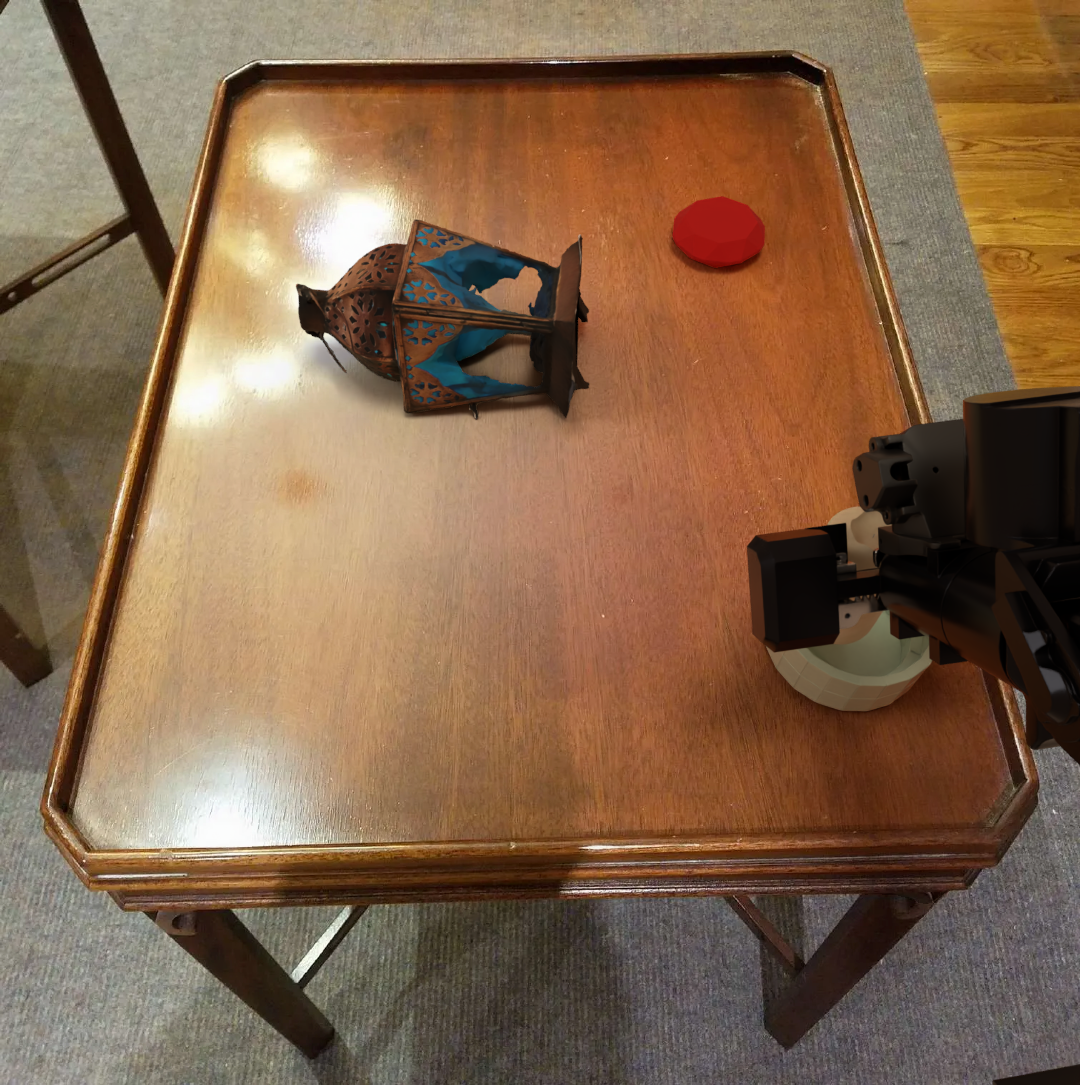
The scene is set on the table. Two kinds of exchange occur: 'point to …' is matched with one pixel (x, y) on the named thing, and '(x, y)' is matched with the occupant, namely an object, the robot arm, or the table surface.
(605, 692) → the table surface
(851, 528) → the candle
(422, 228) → the lantern
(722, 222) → the gemstone
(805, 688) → the bowl
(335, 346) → the table surface
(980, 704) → the table surface
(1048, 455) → the robot arm
